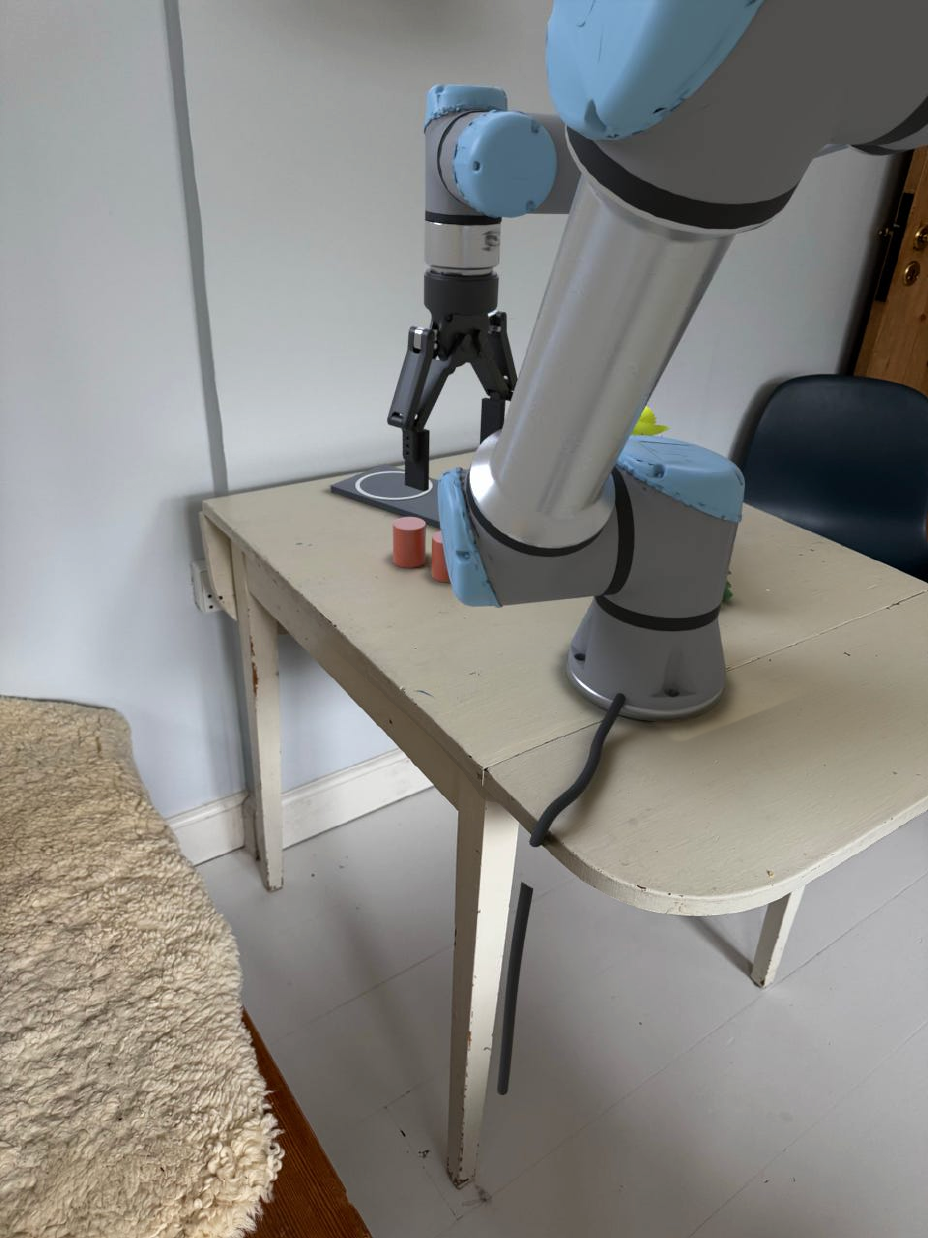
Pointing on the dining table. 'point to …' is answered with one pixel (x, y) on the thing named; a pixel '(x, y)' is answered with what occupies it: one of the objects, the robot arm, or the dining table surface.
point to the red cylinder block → (409, 542)
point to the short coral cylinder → (439, 559)
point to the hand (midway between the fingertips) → (455, 470)
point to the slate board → (392, 493)
